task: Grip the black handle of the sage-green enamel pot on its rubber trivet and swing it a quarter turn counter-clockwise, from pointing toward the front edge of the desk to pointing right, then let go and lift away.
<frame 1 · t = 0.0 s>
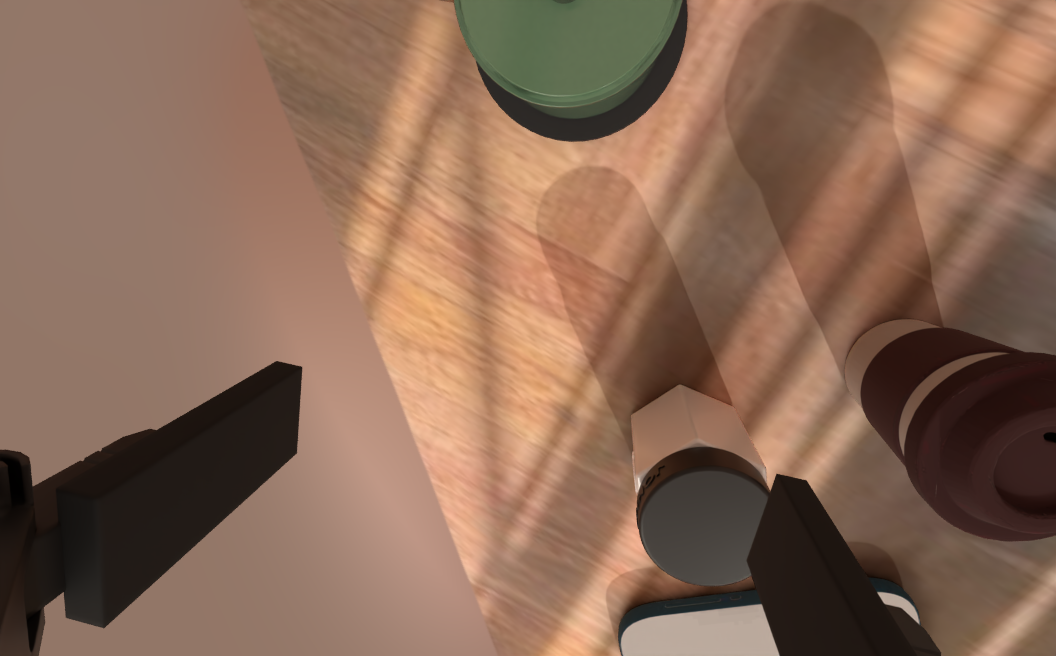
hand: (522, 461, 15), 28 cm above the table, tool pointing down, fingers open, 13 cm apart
coffee cup: (894, 365, 41), on the table
jar: (683, 435, 44), on the table
trivet: (577, 31, 38), on the table
external hard drive: (760, 639, 49), on the table
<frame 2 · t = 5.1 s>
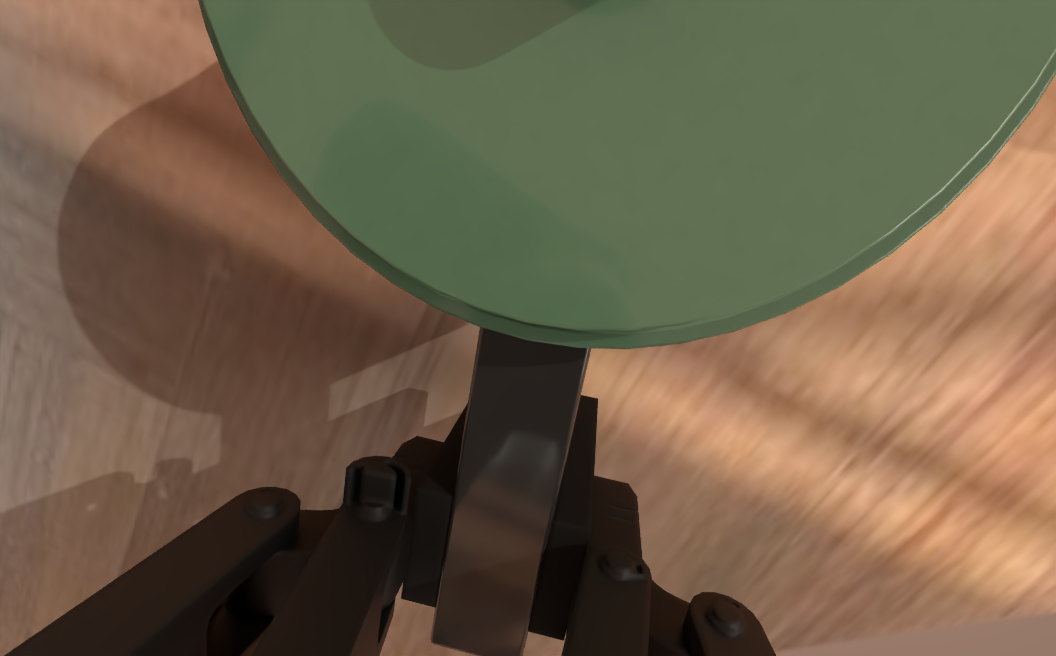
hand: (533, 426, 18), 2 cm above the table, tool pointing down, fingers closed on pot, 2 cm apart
pot: (569, 198, 11), point 7 cm above the table, hinge at 0.0°, touching gripper
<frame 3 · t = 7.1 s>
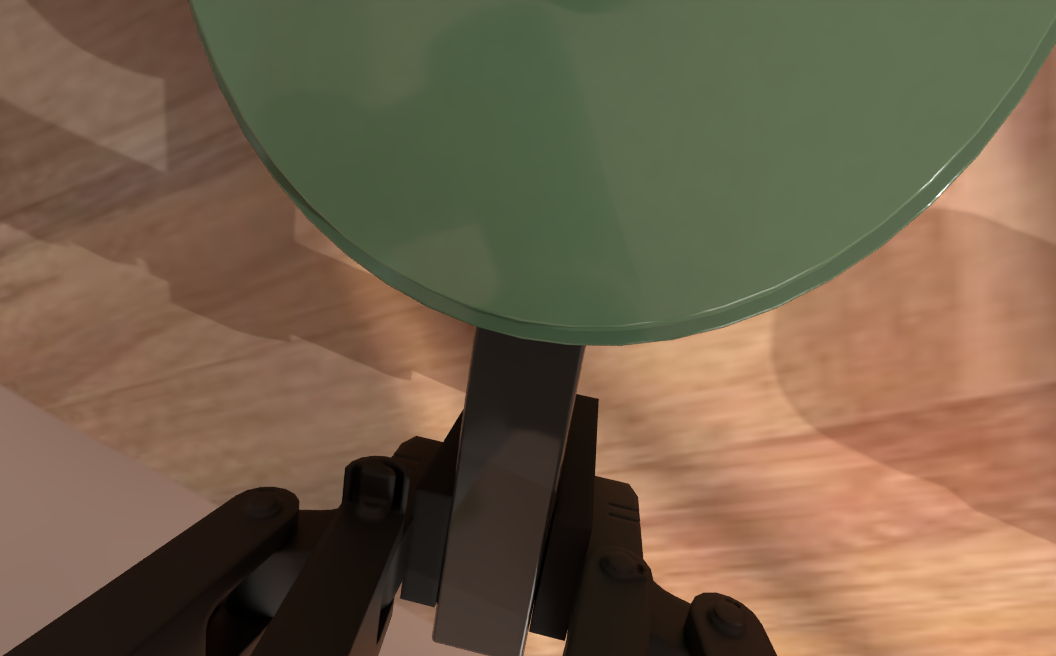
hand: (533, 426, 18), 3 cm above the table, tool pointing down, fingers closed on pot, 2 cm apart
pot: (563, 196, 11), point 7 cm above the table, hinge at 47.4°, touching gripper
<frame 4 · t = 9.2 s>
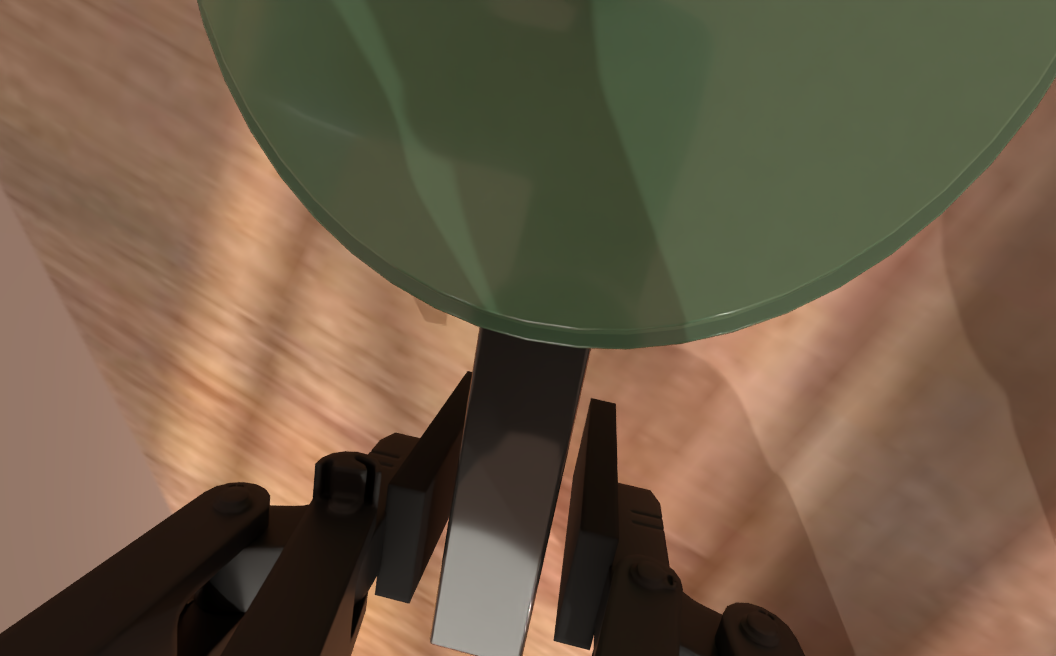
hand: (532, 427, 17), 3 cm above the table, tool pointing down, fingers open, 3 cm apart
pot: (569, 198, 11), point 7 cm above the table, hinge at 90.0°
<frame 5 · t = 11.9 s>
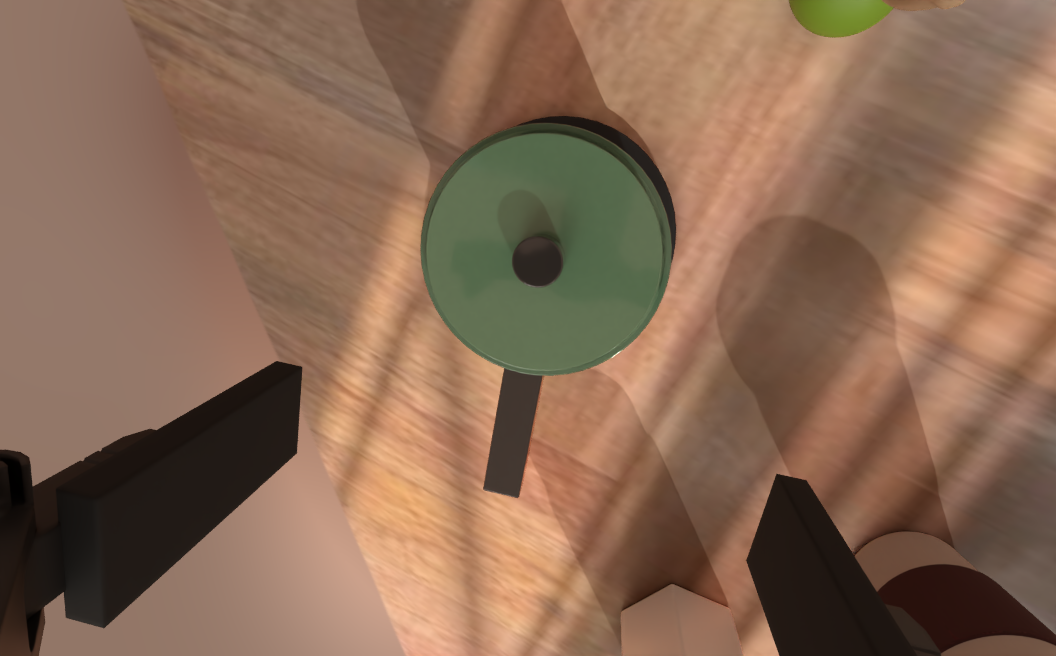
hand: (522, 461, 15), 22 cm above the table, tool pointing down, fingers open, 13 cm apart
coffee cup: (900, 573, 38), on the table
jar: (676, 632, 42), on the table
trivet: (560, 235, 36), on the table
pot: (536, 317, 30), point 7 cm above the table, hinge at 90.0°
snail figurine: (828, 3, 31), on the table
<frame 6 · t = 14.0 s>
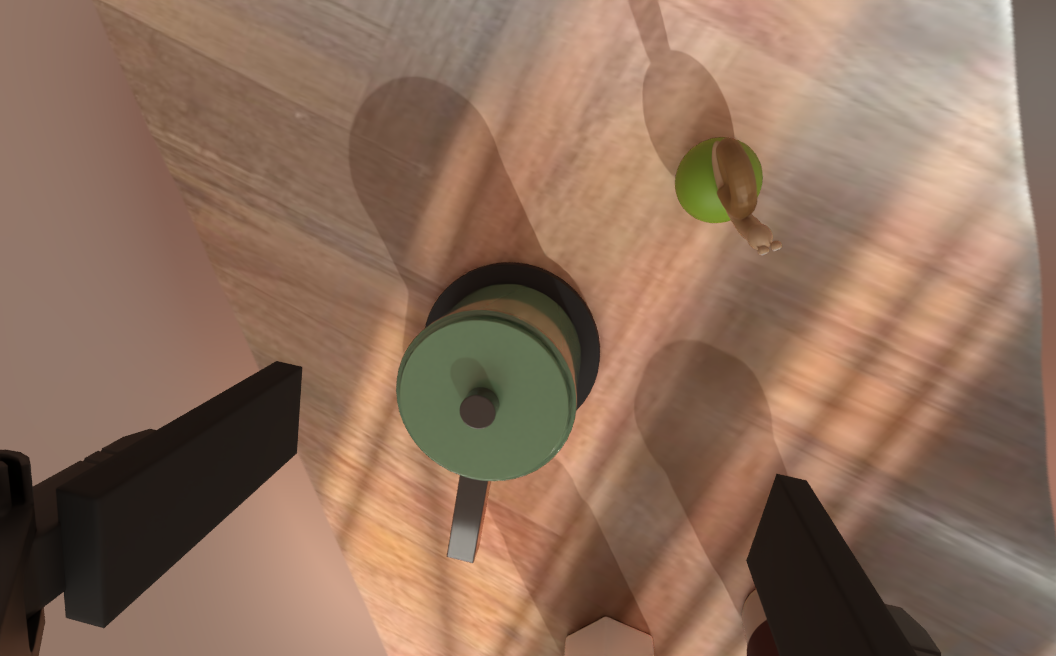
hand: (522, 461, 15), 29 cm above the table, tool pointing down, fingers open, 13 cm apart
coffee cup: (784, 610, 48), on the table
jar: (611, 653, 52), on the table
trivet: (511, 349, 45), on the table
pot: (486, 428, 40), point 7 cm above the table, hinge at 90.0°
snail figurine: (712, 186, 40), on the table
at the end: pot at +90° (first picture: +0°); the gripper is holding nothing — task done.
